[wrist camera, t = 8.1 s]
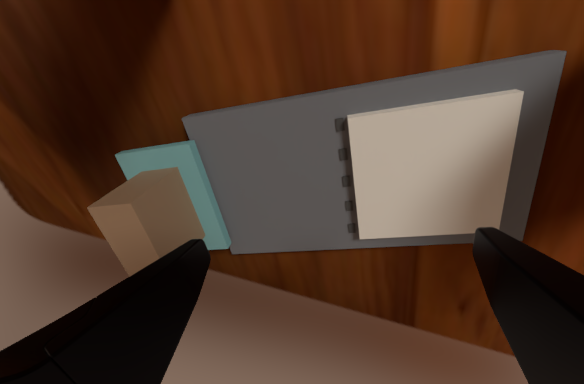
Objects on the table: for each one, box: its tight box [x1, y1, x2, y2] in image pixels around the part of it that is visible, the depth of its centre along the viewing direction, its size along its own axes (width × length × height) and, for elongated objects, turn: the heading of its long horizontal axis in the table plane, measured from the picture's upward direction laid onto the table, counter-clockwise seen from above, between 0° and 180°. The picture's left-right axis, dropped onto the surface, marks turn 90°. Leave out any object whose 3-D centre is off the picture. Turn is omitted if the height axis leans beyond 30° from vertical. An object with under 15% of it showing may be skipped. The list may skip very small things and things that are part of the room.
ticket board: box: [182, 50, 567, 254], centre depth 19 cm, size 22×12×2 cm, turn 101°
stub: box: [87, 140, 232, 277], centre depth 19 cm, size 6×9×6 cm, turn 11°
